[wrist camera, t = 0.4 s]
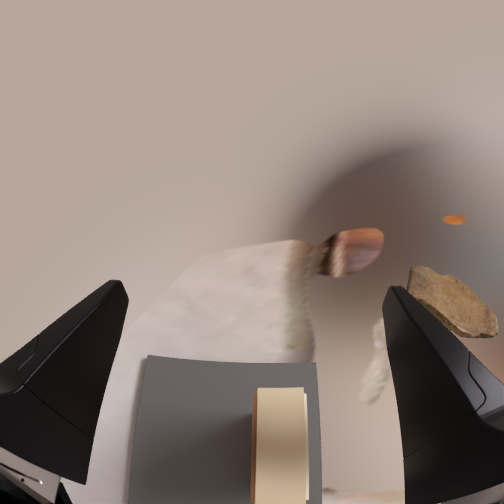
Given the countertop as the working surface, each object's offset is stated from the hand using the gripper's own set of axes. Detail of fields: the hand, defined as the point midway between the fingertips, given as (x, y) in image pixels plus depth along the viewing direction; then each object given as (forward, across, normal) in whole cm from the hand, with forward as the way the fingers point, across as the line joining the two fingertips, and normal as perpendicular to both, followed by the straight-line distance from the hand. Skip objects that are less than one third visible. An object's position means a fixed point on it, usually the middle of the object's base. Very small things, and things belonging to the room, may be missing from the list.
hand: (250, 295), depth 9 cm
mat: (-2, +3, +17) cm, 17 cm away
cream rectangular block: (-1, -1, +16) cm, 16 cm away
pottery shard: (+13, -23, +16) cm, 31 cm away
